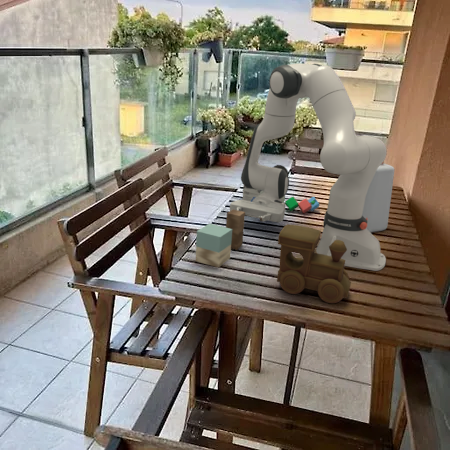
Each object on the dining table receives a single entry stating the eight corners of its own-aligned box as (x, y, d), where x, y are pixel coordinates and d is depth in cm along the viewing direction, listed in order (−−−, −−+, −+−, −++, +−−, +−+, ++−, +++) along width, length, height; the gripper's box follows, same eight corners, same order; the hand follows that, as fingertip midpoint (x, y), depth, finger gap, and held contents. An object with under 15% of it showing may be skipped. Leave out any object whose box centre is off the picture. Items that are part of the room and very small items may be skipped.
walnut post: (242, 245, 150) (245, 212, 146) (236, 250, 147) (239, 215, 142) (230, 242, 152) (232, 209, 148) (224, 247, 148) (226, 213, 144)
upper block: (231, 244, 139) (232, 229, 137) (219, 252, 132) (220, 237, 130) (208, 238, 142) (209, 223, 140) (195, 246, 135) (196, 231, 134)
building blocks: (296, 221, 191) (319, 206, 191) (295, 215, 183) (319, 199, 183) (286, 207, 194) (309, 192, 194) (284, 201, 186) (308, 185, 186)
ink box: (263, 201, 199) (266, 176, 195) (258, 204, 195) (261, 178, 191) (247, 197, 203) (249, 172, 199) (241, 199, 199) (243, 174, 195)
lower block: (230, 258, 140) (231, 244, 139) (218, 268, 134) (219, 252, 132) (207, 252, 144) (208, 238, 142) (195, 261, 137) (196, 246, 135)
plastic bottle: (335, 221, 180) (346, 153, 170) (363, 217, 187) (375, 151, 177) (362, 235, 168) (376, 161, 158) (391, 230, 174) (406, 160, 165)
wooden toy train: (270, 291, 122) (277, 234, 116) (281, 274, 132) (287, 221, 126) (344, 309, 116) (355, 250, 110) (350, 290, 126) (360, 235, 120)
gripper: (238, 193, 172) (223, 202, 160) (289, 203, 164) (277, 213, 152) (237, 209, 174) (222, 219, 162) (287, 219, 166) (275, 230, 155)
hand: (249, 216), depth 157 cm, fingers open, 8 cm apart
